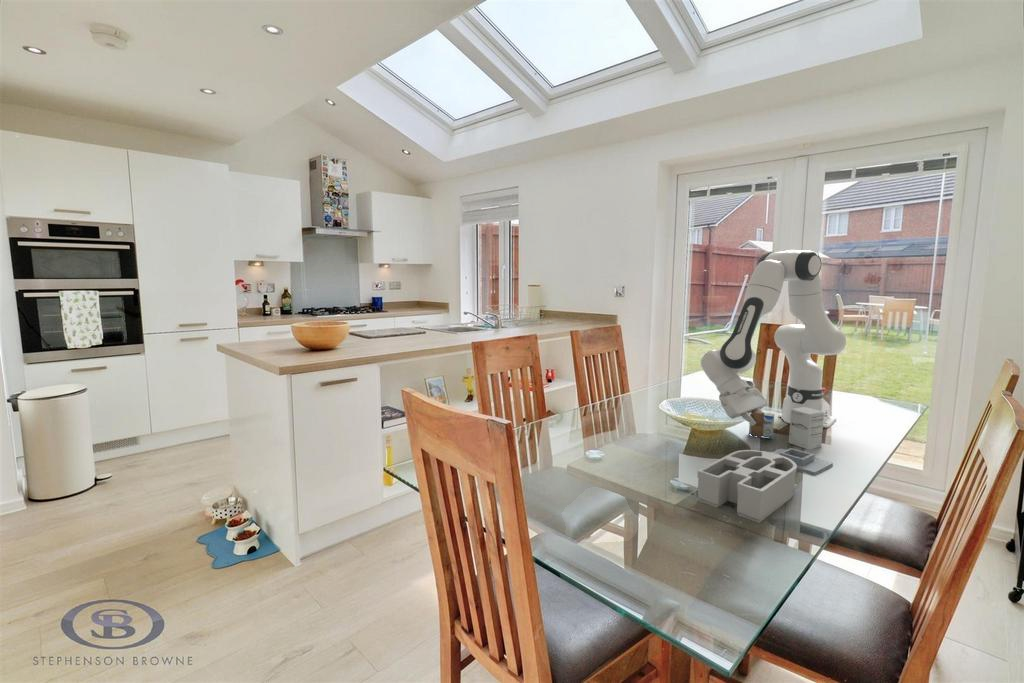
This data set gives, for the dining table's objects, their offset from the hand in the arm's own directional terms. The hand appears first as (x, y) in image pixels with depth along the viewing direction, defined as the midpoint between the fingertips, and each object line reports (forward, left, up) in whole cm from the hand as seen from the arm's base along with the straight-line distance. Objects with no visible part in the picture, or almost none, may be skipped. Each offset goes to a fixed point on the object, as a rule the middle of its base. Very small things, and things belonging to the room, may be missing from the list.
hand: (759, 422), depth 170 cm
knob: (0, -1, -4) cm, 4 cm away
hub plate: (+6, +15, -8) cm, 18 cm away
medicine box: (-10, -5, -8) cm, 14 cm away
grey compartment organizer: (+39, +19, -9) cm, 44 cm away
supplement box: (-13, +9, -8) cm, 18 cm away
